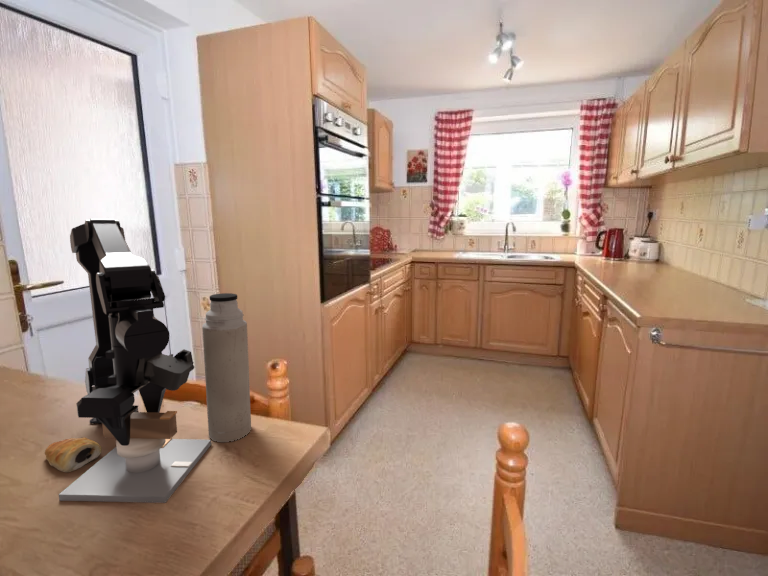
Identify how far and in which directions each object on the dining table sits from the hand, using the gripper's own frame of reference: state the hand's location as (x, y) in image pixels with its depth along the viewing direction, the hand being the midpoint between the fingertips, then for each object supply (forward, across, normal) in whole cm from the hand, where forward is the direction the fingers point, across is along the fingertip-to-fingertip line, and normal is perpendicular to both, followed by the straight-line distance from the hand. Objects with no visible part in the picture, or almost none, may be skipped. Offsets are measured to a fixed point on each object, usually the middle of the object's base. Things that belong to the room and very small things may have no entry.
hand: (140, 432), depth 68 cm
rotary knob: (+2, 0, 0) cm, 2 cm away
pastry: (+7, +2, +14) cm, 16 cm away
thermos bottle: (+7, +13, -10) cm, 18 cm away
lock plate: (+7, 0, 0) cm, 7 cm away
